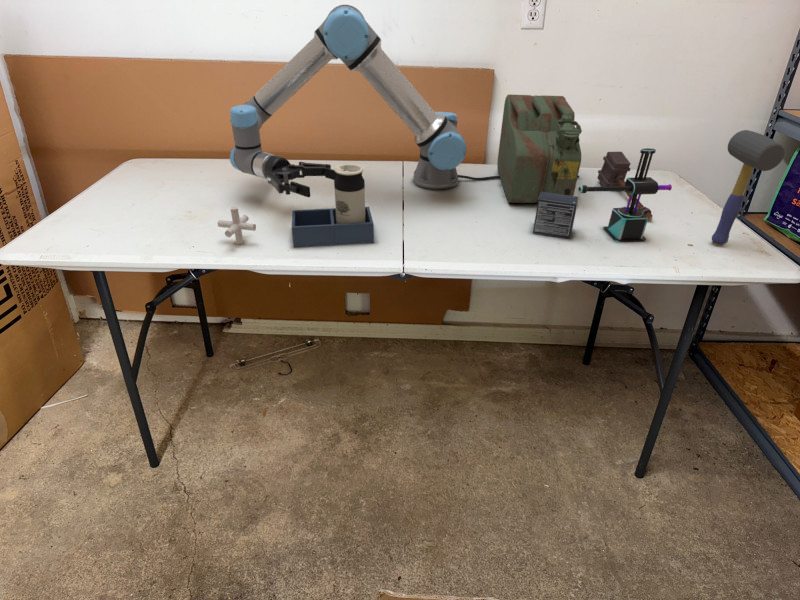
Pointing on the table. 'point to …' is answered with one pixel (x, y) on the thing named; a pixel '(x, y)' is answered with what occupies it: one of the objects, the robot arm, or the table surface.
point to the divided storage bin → (329, 228)
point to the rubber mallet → (746, 173)
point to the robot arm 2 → (630, 220)
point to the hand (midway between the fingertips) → (326, 184)
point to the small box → (555, 214)
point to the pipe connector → (236, 225)
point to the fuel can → (538, 147)
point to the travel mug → (349, 194)
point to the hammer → (618, 175)
